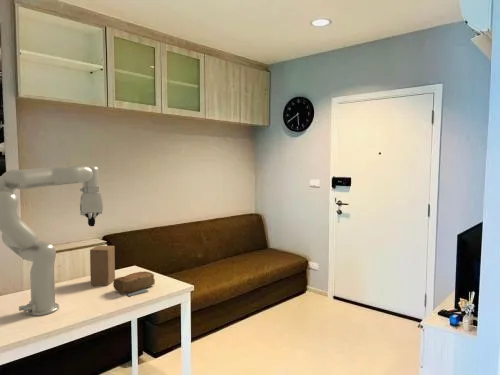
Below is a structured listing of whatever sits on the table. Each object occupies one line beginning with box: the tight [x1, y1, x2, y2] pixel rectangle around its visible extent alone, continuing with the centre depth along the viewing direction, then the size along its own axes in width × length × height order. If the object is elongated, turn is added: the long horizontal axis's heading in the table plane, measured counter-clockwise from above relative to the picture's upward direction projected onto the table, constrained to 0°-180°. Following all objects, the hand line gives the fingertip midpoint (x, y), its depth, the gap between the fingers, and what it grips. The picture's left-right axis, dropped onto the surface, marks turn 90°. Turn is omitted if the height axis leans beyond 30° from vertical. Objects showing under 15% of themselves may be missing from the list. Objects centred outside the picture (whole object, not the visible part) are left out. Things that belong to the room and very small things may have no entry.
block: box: [112, 271, 156, 295], centre depth 196 cm, size 11×8×20 cm
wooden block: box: [89, 245, 116, 286], centre depth 205 cm, size 10×10×20 cm
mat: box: [124, 288, 149, 298], centre depth 193 cm, size 10×14×1 cm
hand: (91, 225), depth 187 cm, fingers closed
